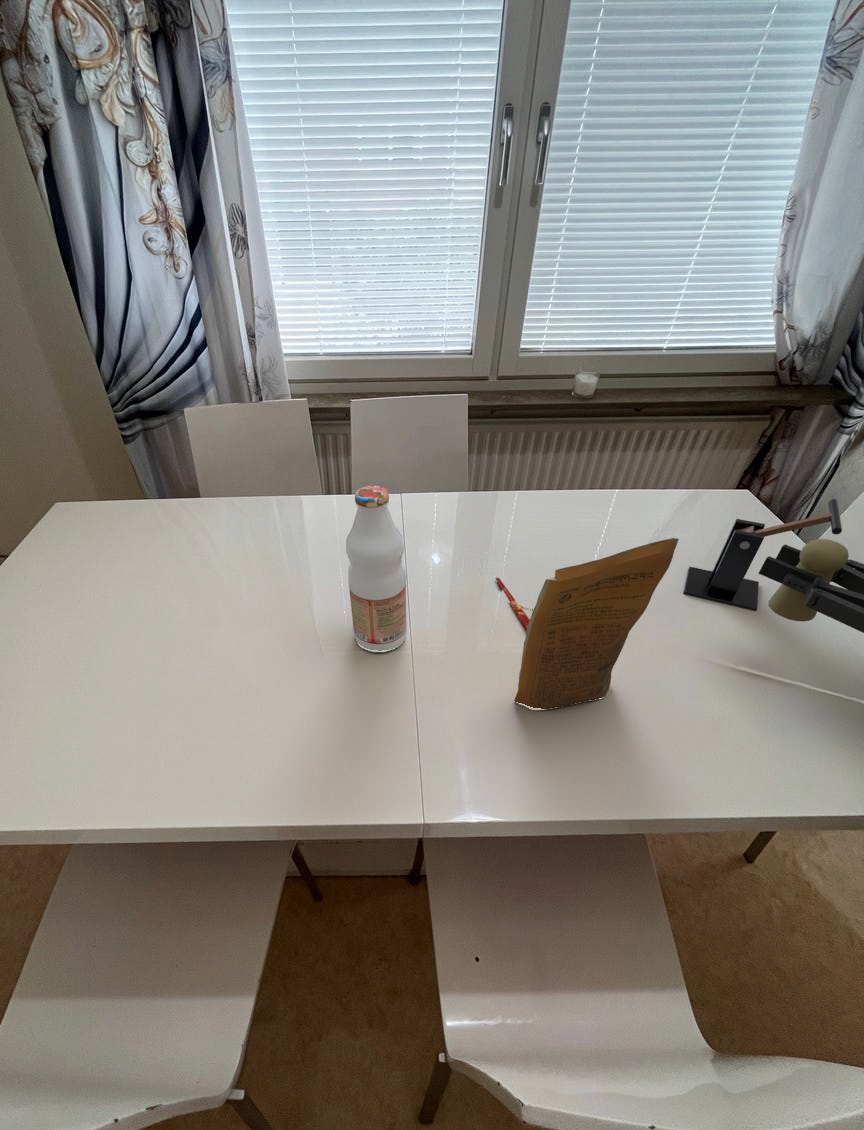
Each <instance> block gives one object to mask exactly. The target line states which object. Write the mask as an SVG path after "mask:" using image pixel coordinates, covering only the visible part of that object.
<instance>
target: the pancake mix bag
mask: <svg viewBox="0 0 864 1130" xmlns="http://www.w3.org/2000/svg"><path fill="white" fill-rule="evenodd" d="M679 540H680V539H679V538H676V537H671V538H667V539H666V538H665V539H662V540H658V541H653V542H649V543H646V544H643V545H640V546H639V545H638V546H636V547H633V548H630V549H626V550H624V551H623V550H622V551H621V552H618V553H615V554H611V555H609V556H606V557H602V558H599V559H595V560H591V561H587V562H583V563H580V564H575V565H571V566H570V565H569V566H566V567H562V568H558V569H555V571H554V577H549V578H546V579H545V581H544V582H543V585H542V588H541V590H540V592H539V594H538V597H537V601H536V604H535V606H534V608H533V609H532V612H531V616H530V617H529V619H530V621H529V624H528V627H527V631H526V630H525V632H526V633H525V638H524V642H523V648H522V653H521V654H522V655H521V663H520V669H519V673H518V683H517V684H518V685H517V692H516V695H515V697H514V700H513V702H514V701H515V702H518V703H522V704H525V705H527V706H530V707H533V708H541V709H550V708H555V707H560V708H562V707H561V706H565V707H567V706H566V705H570V706H572V705H571V704H574V705H576V704H575V703H579V702H584V701H589V700H595V699H599V698H602V697H603V696H604V695H605V694H606V693H607V694H608V692H607V691H609V689H610V686H611V681H612V671H613V669H614V666H615V665H616V662H617V661H618V659H619V657H620V654H621V652H622V650H623V648H624V646H625V644H626V641H627V639H628V635H629V633H630V631H631V630H632V628H633V627H634V626H635V625H636V623H637V622H638V621H639V620H640V619H641V617H642V615H643V614H644V613H645V611H646V610H647V608H648V606H649V604H650V602H651V600H652V597H653V595H654V592H655V590H656V589H657V587H658V586H659V584H660V583H661V581H662V579H663V578H664V576H665V574H666V573H667V571H668V570H669V568H670V566H671V563H672V561H673V558H674V554H675V550H676V548H677V546H678V542H679ZM607 694H606V695H607ZM606 695H605V696H606ZM605 696H604V697H605ZM604 697H603V698H604ZM603 698H602V699H603ZM595 701H596V700H595ZM589 702H590V701H589ZM584 703H585V702H584ZM579 704H580V703H579Z"/></svg>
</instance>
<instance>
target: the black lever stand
mask: <svg viewBox="0 0 864 1130" xmlns="http://www.w3.org/2000/svg"><path fill="white" fill-rule="evenodd" d="M751 526H754V529H755V531H756V530H761V529H765V527H766V524H765V523H761V522H757V521H751V520H746V519H740V518H735V521H734V523H733V525H732V527H731V530H730V532H729V533H728V536H727V538H726V541H725V542H724V544H723V547H722V549H721V551H720V554H719V556H718V558H717V560H716V562H715V564H714V567H713V569H712V570H708V569H702V568H698V567H694V566H688V569H687V572H686V573H687V574H686V579H685V584H684V588H683V595H686V596H690V597H693V598H699V599H703V600H705V601H706V600H707V601H710V602H716V603H719V604H723V605H728V606H732V607H736V608H740V609H745V610H748V611H753V612H757V610H758V606H759V604H758V603H759V581H758V580H753V579H748V578H745V577H746V575H747V573H748V571H749V569H750V567H751V565H752V563H753V561H754V559H755V557H756V555H757V553H758V551H759V549H760V547H761V545H762V544H763V541H764V540H765V537H764V535H761V534H755V533H750V532H745V531H740V530H739V529H743V528H747V527H751Z"/></svg>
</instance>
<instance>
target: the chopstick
mask: <svg viewBox="0 0 864 1130" xmlns="http://www.w3.org/2000/svg"><path fill="white" fill-rule="evenodd" d="M495 580H496V582H497V584H498V586H499V587H500V590H501V591H503V593H504V595H505V596H506V598H507V599H508V601H509V604H510V605H511V608H512V609H513V611H514V612H515V615H516V616H517V617H518V619H519V621H520V623H521V624H522V626H523V627H524V629H525V632H526V631H527V627H528V624H529V621H530V617H529V616H528V615H527V614H526V612H525V611H524V610H523V608H522V607H521V606H520V604H519V603H518V602H517V600H516V599H515V597H514V596H513V595H512V593H511V592H510V591H509V589H508V587H506V586H505V584H504V582H503V581H502V579H501V578H500V577H499V576H497V577H495Z"/></svg>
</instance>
